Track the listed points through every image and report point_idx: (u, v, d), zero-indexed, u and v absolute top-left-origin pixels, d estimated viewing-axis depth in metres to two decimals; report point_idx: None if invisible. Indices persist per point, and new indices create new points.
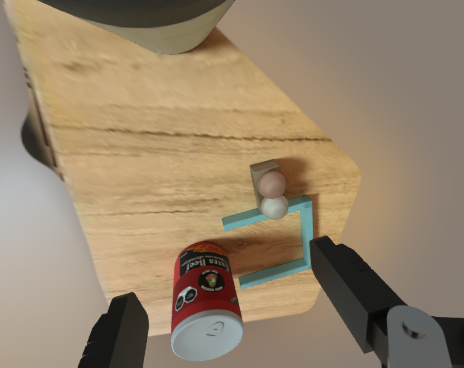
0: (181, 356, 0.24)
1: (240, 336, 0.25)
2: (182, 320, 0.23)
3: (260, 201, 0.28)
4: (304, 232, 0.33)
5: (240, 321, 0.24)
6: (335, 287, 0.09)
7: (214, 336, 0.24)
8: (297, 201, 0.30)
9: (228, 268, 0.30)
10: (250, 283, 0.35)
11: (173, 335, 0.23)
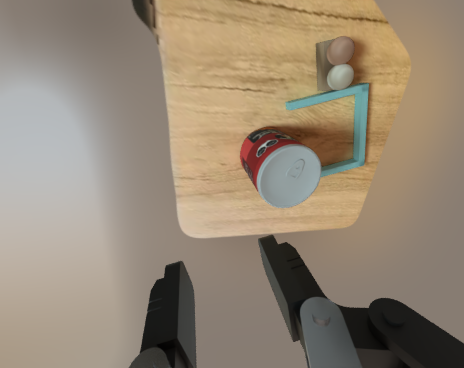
0: (264, 196, 0.27)
1: (317, 180, 0.27)
2: (270, 153, 0.25)
3: (325, 76, 0.31)
4: (357, 123, 0.36)
5: None
6: (273, 282, 0.09)
7: (294, 177, 0.27)
8: (355, 85, 0.33)
9: None
10: None
11: (262, 168, 0.25)
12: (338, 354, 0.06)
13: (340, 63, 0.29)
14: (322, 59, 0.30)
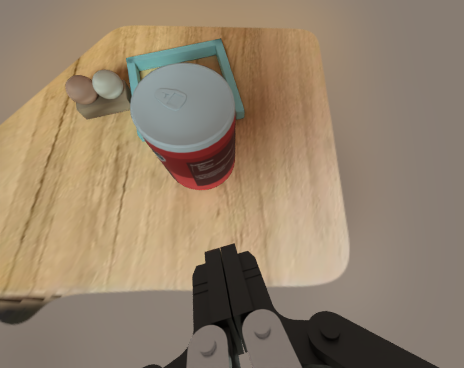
0: (210, 136, 0.16)
1: (189, 65, 0.18)
2: (143, 137, 0.17)
3: (111, 101, 0.28)
4: (171, 58, 0.31)
5: None
6: None
7: (182, 97, 0.17)
8: None
9: None
10: (234, 101, 0.28)
11: (160, 145, 0.16)
12: (281, 364, 0.06)
13: (90, 86, 0.26)
14: (95, 108, 0.28)
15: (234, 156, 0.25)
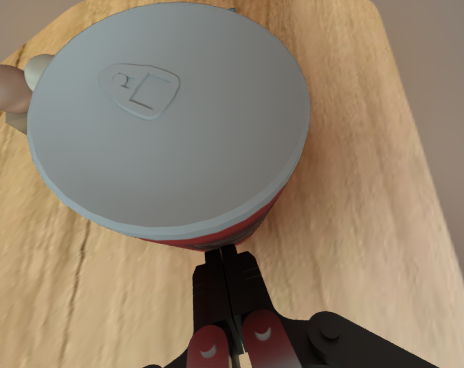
0: (254, 192, 0.05)
1: (184, 7, 0.07)
2: None
3: None
4: None
5: None
6: None
7: (169, 84, 0.07)
8: None
9: None
10: None
11: (106, 226, 0.05)
12: (281, 364, 0.06)
13: (21, 82, 0.15)
14: None
15: None
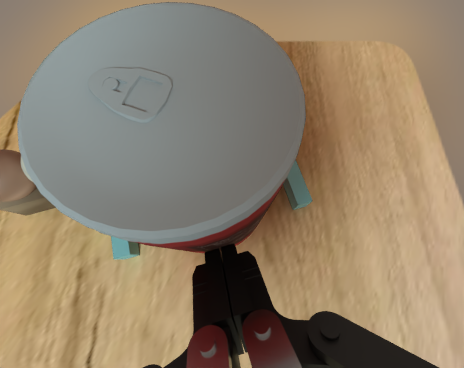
0: (255, 189, 0.05)
1: (171, 8, 0.07)
2: None
3: None
4: None
5: None
6: None
7: (161, 86, 0.07)
8: None
9: None
10: (292, 181, 0.15)
11: (107, 232, 0.05)
12: (281, 364, 0.06)
13: (16, 172, 0.13)
14: (37, 202, 0.15)
15: None
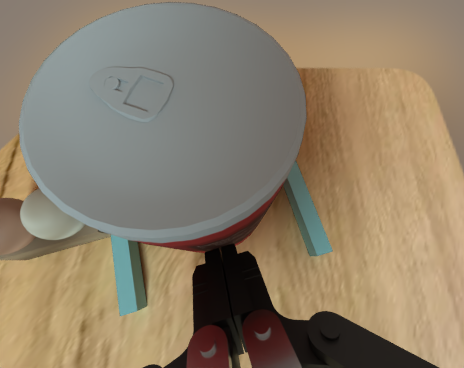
0: (255, 189, 0.05)
1: (173, 7, 0.07)
2: None
3: (66, 238, 0.14)
4: None
5: None
6: None
7: (162, 85, 0.07)
8: None
9: None
10: (310, 229, 0.14)
11: (107, 231, 0.05)
12: (281, 364, 0.06)
13: (16, 225, 0.12)
14: (37, 250, 0.14)
15: None
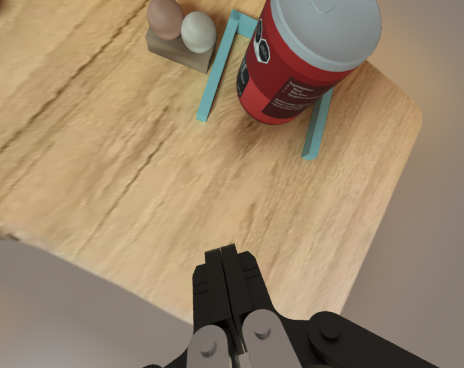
0: (343, 61, 0.14)
1: None
2: (273, 19, 0.14)
3: (189, 52, 0.22)
4: None
5: None
6: None
7: (331, 3, 0.15)
8: None
9: None
10: (313, 140, 0.24)
11: (290, 39, 0.14)
12: (281, 364, 0.06)
13: (179, 22, 0.20)
14: (167, 48, 0.22)
15: None
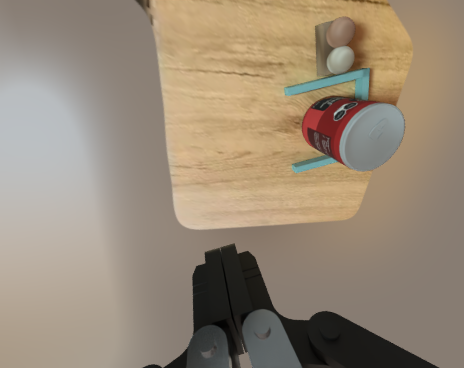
0: (347, 160, 0.27)
1: (399, 140, 0.27)
2: (355, 114, 0.25)
3: (325, 59, 0.30)
4: None
5: None
6: None
7: (377, 138, 0.26)
8: (355, 70, 0.32)
9: None
10: (305, 166, 0.37)
11: (347, 129, 0.25)
12: (281, 364, 0.06)
13: (340, 45, 0.28)
14: (322, 42, 0.30)
15: None
